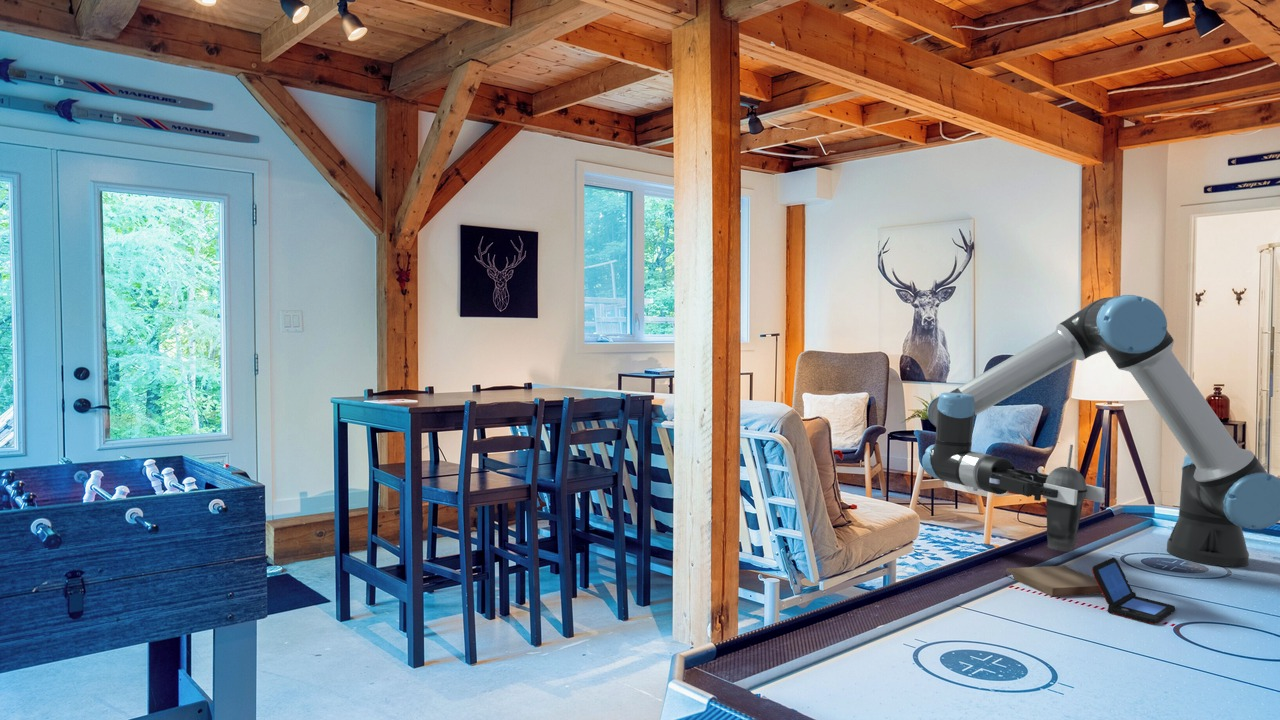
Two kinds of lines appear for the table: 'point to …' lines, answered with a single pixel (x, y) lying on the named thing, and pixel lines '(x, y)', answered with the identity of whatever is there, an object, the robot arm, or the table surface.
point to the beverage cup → (1064, 508)
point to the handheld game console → (1127, 595)
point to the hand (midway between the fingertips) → (1089, 496)
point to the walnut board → (1056, 580)
